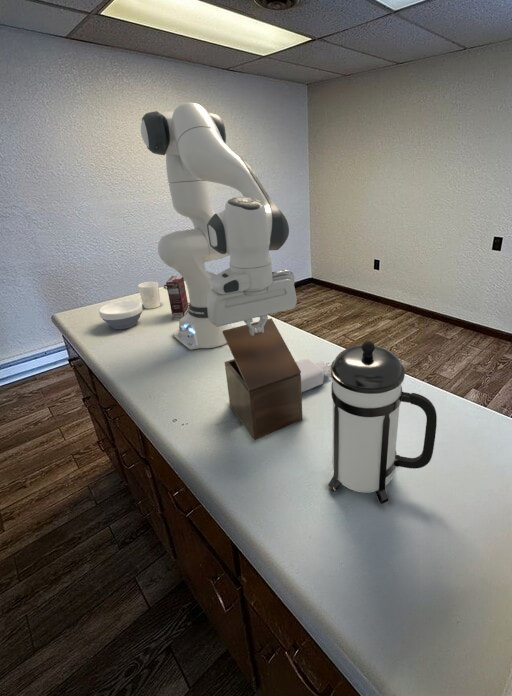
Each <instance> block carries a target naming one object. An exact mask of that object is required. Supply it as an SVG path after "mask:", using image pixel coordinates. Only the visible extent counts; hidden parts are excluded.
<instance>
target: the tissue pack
mask: <svg viewBox="0 0 512 696" xmlns="http://www.w3.org/2000/svg"><path fill="white" fill-rule="evenodd" d="M295 362H296V364H297V365H298V367H299V369H300V371H301V373H300V374H301V393H304V392H307V391H309V390H312V389H314V388H316V387H318V386H321V385H323V384H324V377H325V375H324V374H325V373H326V371H327V370H328V369H329V368H330V367H331V364H330V362H324V361H319V362H316V363H315V362H314V361H312V360H310V359H308V358H304V359H301V360H299V361H295Z"/></svg>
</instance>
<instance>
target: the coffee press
mask: <svg viewBox="0 0 512 696" xmlns="http://www.w3.org/2000/svg"><path fill="white" fill-rule="evenodd" d="M330 365H331V367H329V369H328V370H327V371H326V373H325V374H323V375H324V377H329V378H330V379H331V381H332V382H331V388H330V389H331V391H330V392H331V398H332V470H333V474H332V478H331V479H330V480H329V482H328V485H327V486H328V488H329V489H330V491H331V492H332V493H335V492H337V491H338V490H339V489H340V487H342V485H343V486H344V487H346V488H347V489H349V490H351V491H354V492H358V493H363V494H364V493H366V494H367V493H375V495H376V498H377V500H378V503H379V504H380V505H383V504H385V503H387V502H389V496H388V493H387V489H386V486H387V485H388V484H389V483H390V482H391V480H392V478H393V475H394V471H395V469H396V468H406V469H412V470H413V469H421V468H424V467H425V466H427V465H429V463H430V462H431V460H432V458H433V454H434V449H435V442H436V434H437V426H438V425H437V423H438V415H437V410H436V407H435V405H434V403H433V402H432V401H431V400H430V399H429V398H427V397H425V396H424V395H422V394H419V393H415V392H407V391H403V387H402V384H403V382H404V380H405V377H406V376H405V374H406V371H405V367H404V365H403V363H402V362H401V361H400V359H399V358H398V356H397V355H396V354H394V353H393V352H392V351H390V350H388V349H386V348H384V347H382V346H377V345H375V344H374V342H372V341H371V340H365V341H364V342H363V343H362V344H359V345H353V346H350V347H347V348H345V349H344V350H342V351H341V352H339V353H338V354H337V355H336V357H335V359H334V360H333V361H332V362H331V364H330ZM401 403H409V404H410V405H414V406H417V407H419V408H420V409H421V410H422V411H423V412H424V414H425V417H426V424H425V430H424V439H423V447H422V452H421V453H420V455H418V456H416V457H407V456H401V455H400V454H397V441H398V440H397V439H398V426H399V417H400V415H399V414H400V405H401Z"/></svg>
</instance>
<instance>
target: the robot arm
mask: <svg viewBox="0 0 512 696" xmlns="http://www.w3.org/2000/svg"><path fill="white" fill-rule="evenodd" d="M140 123H141V124H140V135H141V138H142V141H143V143H144V145H145V146H146V148H147V150H148V151H149V152H150V153H152V154H155V155H159V156H165V168H166V176H167V181H168V182H167V183H168V188H169V193H170V197H171V203H172V207H173V209H174V210H175V211H176V213H178V214H179V215H180V216H182V217H185V218H188V219H189V220H190V221H191V222H192V224H193V227H194V228H190V229H184V230H178V231H177V230H176V231H174V232H170V233H168V234H165V235H163V236H161V237H160V239H159V241H158V244H157V253H158V256H159V258H160V260H161V261H162V263H164V264H165V265H166V266H168V267H170V268H172V269H173V270H175V271H177V272H178V273H179V274H180V276H182V277H183V278H184V283H185V285H186V288H187V289H186V290H187V293H188V298H189V301H188V303H186V304H188V305H187V306H189V310H188V313H187V314H186V315H185V316H184V317H182V318H181V319H179V321H178V329H177V330H175V331H174V332H173V337H174V338H175V339H176V340H178V341H179V342H180V343H181V344H183V346H185V347H186V348H187V349H188V350H197V349H213V348H218V347H221V346H224V345H226V344H227V342H226V340H225V337H224V335H223V333H222V332H223V331H224V330H227V329H231V328H234V327H233V326H232V324H235V323H239V322H244V323H245V325H247V326H248V327H249V332H250V334H251V335H252V336H254V335H257V334H261V333H264V325H265V323H266V321H267V319H269V318H268V317H269V315H272V314H276V313H281V312H284V311H288V310H292V309H295V307H296V306H297V303H298V299H297V292H296V288H295V284H296V283H295V282H296V281H295V279H296V277H295V273H293V272H292V271H291V270H288V269H283V270H277V271H273V266H272V265H273V264H272V258H271V256H270V255H271V254H270V251H278V250H280V249H281V248H282V247H283V246H284V244H285V243H286V242H287V240H288V237H289V235H290V227H289V223H288V219H287V218H286V216H285V215H284V213H283V212H282V211H281V209H280V208H278V206H277V205H276V204H275V203H274V202H273V200H272V199H271V197H270V195H269V194H268V192H267V191H266V189H265V188H264V185H262V183H261V181H260V179H259V178H258V176H257V175H256V173H255V172H254V170H253V169H252V168H251V166H250V164H249V163H248V162H247V160H246V159H244V158H243V157H241V156H239V155H238V154H237V153H236V152H235V151H234V150H232V149H231V148H230V147H229V146H228V145H227V130H226V126H225V123H224V121H223V119H222V118H221V117H220V115H218V114H216V113H212V112H210V111H207V109H206V108H205V107H203V106H202V105H200V104H199V103H195V102H190V101H189V102H183V103H181V104H179V105H177V107H176V108H175V109H174V110H171V111H170V110H169V111H160V112H159V111H158V110H156V111H150V112H147V113H145V114H143V116H142V117H141V122H140ZM208 182H209V183H215V184H220V185H224V186H227V187H230V188H231V189H235V190H236V191H238V192H239V193H240V194H242V196H236V197H233V198H230V199H228V200H227V201H226V203H225V206H224V207H225V208H224V209H223V210H221V211H220V212H215V210H214V207H213V205H212V200H211V196H210V192H209V185H208ZM227 257H229V267H228V268H226V269H224V270H223V271H221V272H219V273H214V272H211V271H208V270H207V269H206V266H205V263H209V262H212V261H217V260H222V259H224V258H227ZM163 288H167V285H166V284H164V285H163ZM256 318H259V320H258V322H259V323H258V324H257V325H254V326H252V325H251V323H254V320H253V319H256Z"/></svg>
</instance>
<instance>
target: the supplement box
mask: <svg viewBox="0 0 512 696" xmlns="http://www.w3.org/2000/svg"><path fill="white" fill-rule="evenodd" d="M165 285H167V287H166V290H167V295H168V300H169V307H170V312H171V317H172V320H174V321H176V320H177V321H178V320H180V319H181V318H182V317H184V316H185V315H186V314H187V313H188V310H189V306H187V305H189V304H186V303H189V301H188V295H187V289H186V286H185V285H186V283H185V280H184V278H183V277H182V275H172V276H171V277H170V278H168V280H167V281H166V282H165Z"/></svg>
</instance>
